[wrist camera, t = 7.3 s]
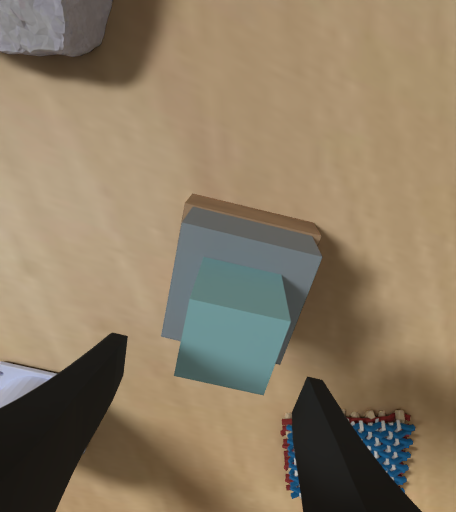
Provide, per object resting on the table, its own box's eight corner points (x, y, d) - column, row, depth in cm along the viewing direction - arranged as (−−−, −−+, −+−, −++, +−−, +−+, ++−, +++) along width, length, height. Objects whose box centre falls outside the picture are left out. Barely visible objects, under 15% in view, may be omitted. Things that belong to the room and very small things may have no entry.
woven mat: (278, 404, 27) (280, 425, 26) (406, 401, 26) (418, 423, 24) (283, 481, 31) (285, 503, 30) (395, 481, 30) (404, 505, 28)
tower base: (277, 318, 24) (281, 344, 21) (175, 294, 24) (165, 317, 21) (312, 220, 21) (321, 235, 18) (194, 191, 21) (184, 203, 18)
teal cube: (260, 337, 17) (263, 395, 14) (189, 321, 17) (174, 375, 14) (281, 274, 16) (290, 321, 12) (203, 256, 16) (189, 298, 12)
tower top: (276, 332, 21) (280, 364, 18) (173, 307, 21) (161, 336, 18) (311, 236, 18) (322, 257, 15) (192, 206, 18) (181, 222, 15)
